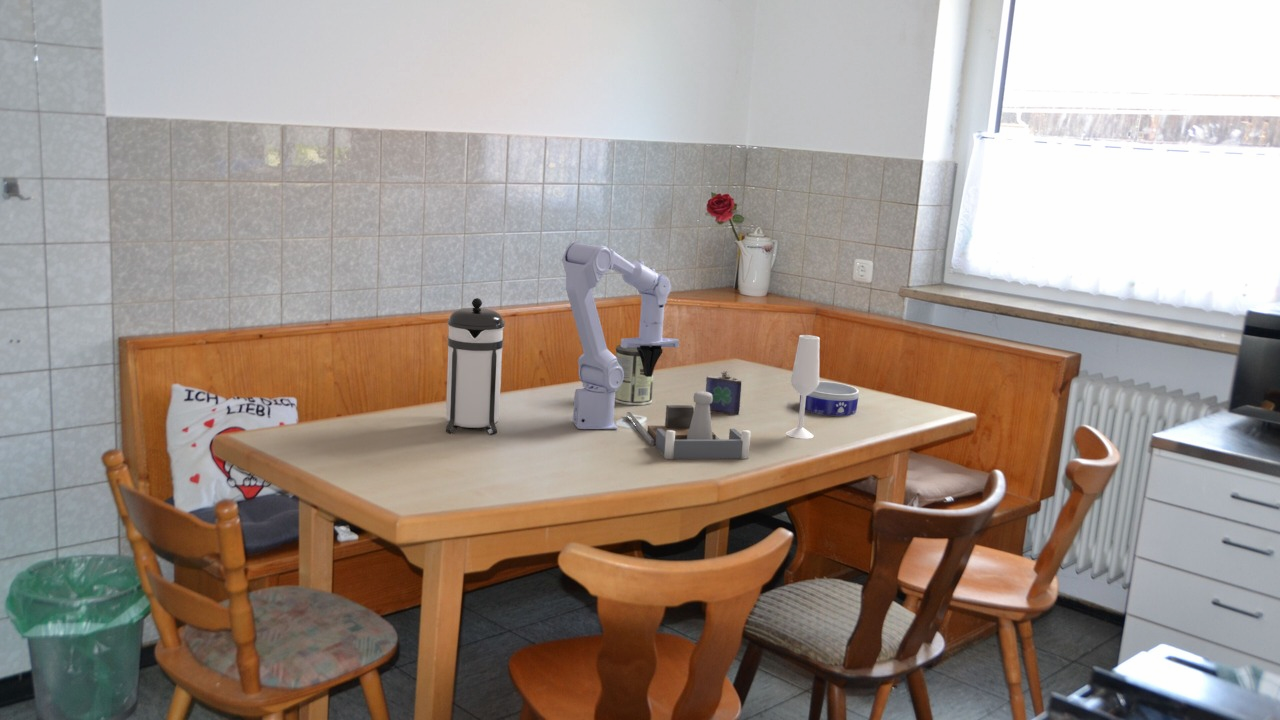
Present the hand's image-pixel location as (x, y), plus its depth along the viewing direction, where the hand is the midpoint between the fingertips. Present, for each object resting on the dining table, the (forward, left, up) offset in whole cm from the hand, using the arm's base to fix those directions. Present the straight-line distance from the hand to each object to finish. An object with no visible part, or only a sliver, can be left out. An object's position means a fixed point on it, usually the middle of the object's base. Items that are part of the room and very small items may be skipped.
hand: (647, 375), depth 271 cm
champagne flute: (+34, -18, -10) cm, 40 cm away
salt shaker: (+5, -29, -10) cm, 31 cm away
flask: (+21, +3, -10) cm, 24 cm away
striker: (+3, -22, -10) cm, 25 cm away
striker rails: (+3, -14, -10) cm, 18 cm away
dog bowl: (+52, +7, -10) cm, 53 cm away
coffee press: (-44, -11, -10) cm, 47 cm away
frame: (+5, -32, -10) cm, 34 cm away
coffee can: (0, +14, -10) cm, 17 cm away
